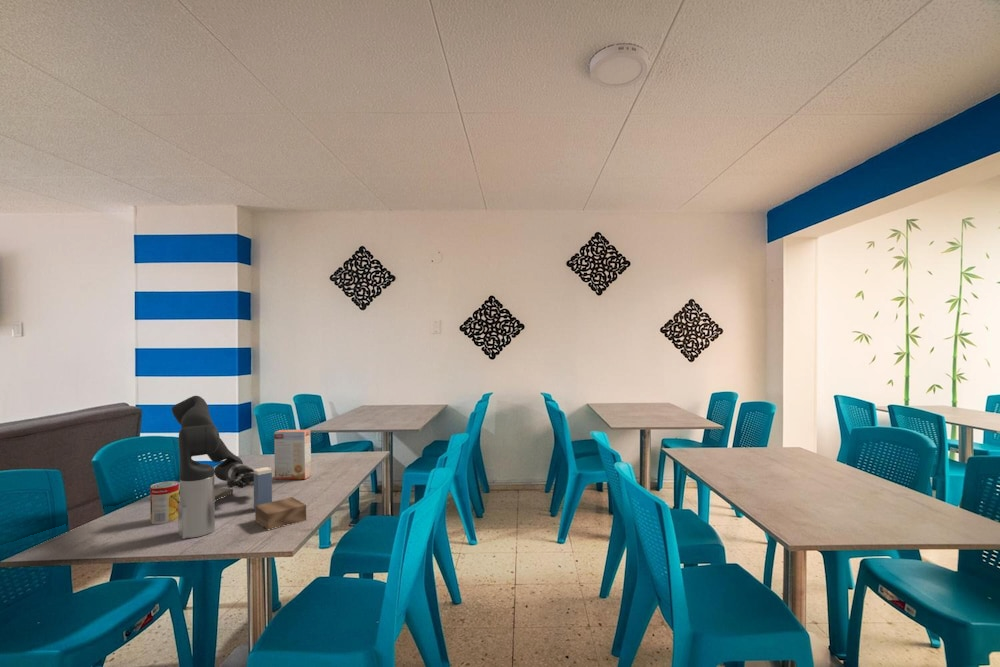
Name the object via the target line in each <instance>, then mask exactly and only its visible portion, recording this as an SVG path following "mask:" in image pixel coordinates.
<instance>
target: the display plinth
mask: <svg viewBox="0 0 1000 667" xmlns="http://www.w3.org/2000/svg"><path fill="white" fill-rule="evenodd" d="M254 510H255V518H254V519H255V520H256V521H257V522H256V521H255V522H256V523H258V522H259V523H260V524H261V525H260V524H259V523H258V524H259V525H260V526H262V525H263V526H264V527H265V528H264V527H263V526H262V527H263V528H264V529H266V528H267V529H272V528H275V527H279V526H283V525H287V524H290V525H293V524H292V523H294V524H297V523H300V521H301V522H305V521H307V504H305V503H303V502H301V501H300V500H298V499H297V498H295V497H286V498H283V499H282V498H281V499H278V500H272V502H269V503H265V504H261V505H256V506H255V509H254ZM304 520H305V521H304ZM296 522H297V523H296ZM287 526H288V525H287ZM283 527H284V526H283ZM279 528H280V527H279ZM267 529H266V530H267ZM272 530H273V529H272Z"/></svg>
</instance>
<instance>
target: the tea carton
mask: <svg viewBox="0 0 1000 667" xmlns="http://www.w3.org/2000/svg"><path fill="white" fill-rule="evenodd" d="M253 470H254V483H253V509H254V508H255V506H256V505H261V504H265V503H269V502H273V474H272V473H273V472H272V471H273V470H272V468H271V467H269V466H266V467H264V466H263V467H259V468H254V469H253Z"/></svg>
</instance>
